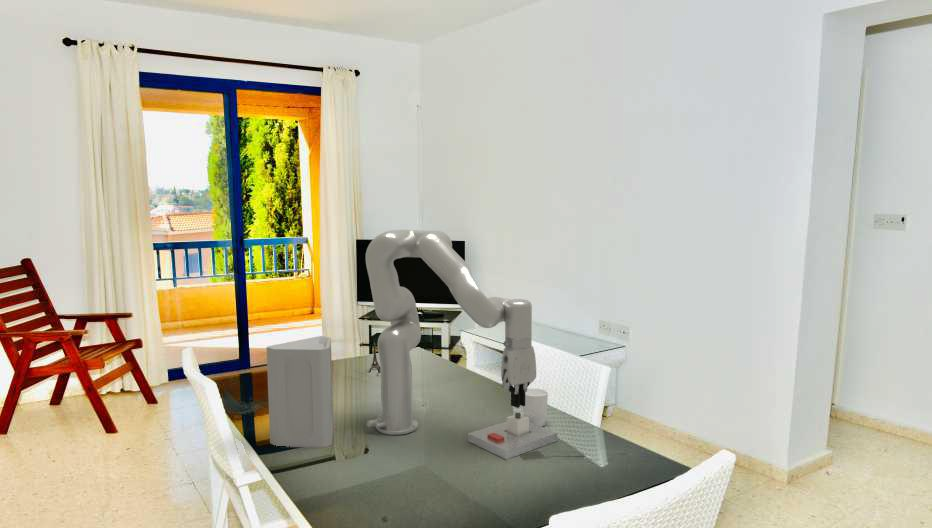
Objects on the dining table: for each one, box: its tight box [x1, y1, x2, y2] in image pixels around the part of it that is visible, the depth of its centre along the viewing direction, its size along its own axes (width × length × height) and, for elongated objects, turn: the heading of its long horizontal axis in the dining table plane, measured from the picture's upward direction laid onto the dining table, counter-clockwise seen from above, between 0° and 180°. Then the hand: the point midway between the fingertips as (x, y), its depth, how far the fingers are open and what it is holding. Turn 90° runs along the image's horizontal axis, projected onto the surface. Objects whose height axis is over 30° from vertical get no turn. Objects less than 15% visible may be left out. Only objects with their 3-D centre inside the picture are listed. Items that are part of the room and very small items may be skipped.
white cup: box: [522, 387, 549, 427], centre depth 186 cm, size 8×8×10 cm
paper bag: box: [266, 335, 334, 449], centre depth 173 cm, size 19×15×28 cm
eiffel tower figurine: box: [367, 340, 381, 374], centre depth 244 cm, size 15×10×13 cm
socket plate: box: [467, 420, 559, 460], centre depth 172 cm, size 20×16×3 cm
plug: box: [506, 412, 529, 437], centre depth 173 cm, size 4×4×7 cm
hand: (518, 405), depth 172 cm, fingers closed
